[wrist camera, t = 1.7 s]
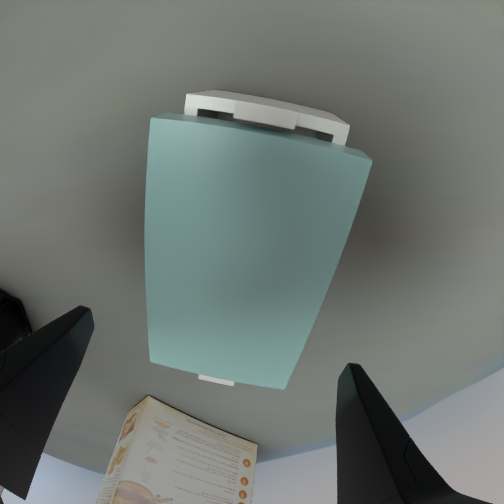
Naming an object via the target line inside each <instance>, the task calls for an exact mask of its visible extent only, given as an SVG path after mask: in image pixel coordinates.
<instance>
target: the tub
mask: <svg viewBox="0 0 504 504" xmlns="http://www.w3.org/2000/svg"><path fill="white" fill-rule="evenodd" d="M184 115H192V116H200V117H207V118H214V119H221V120H227V121H233V122H239V123H245V124H250V125H256V126H261V127H266V128H271V129H276V130H281V131H286V132H290V133H295V134H299V135H303V136H308V137H312V138H316V139H320V140H324V141H328V142H332V143H336V144H339V145H343V146H345V144H346V140H347V136H348V132H349V128H350V125H348V124H347V123H346V122H344V121H343V120H341V119H340V118H338V117H337V116H335V115H334V114H332V113H331V112H327V111H323V110H319V109H315V108H311V107H307V106H302V105H298V104H294V103H289V102H284V101H280V100H275V99H269V98H264V97H259V96H253V95H247V94H241V93H235V92H228V91H221V90H209V91H202V92H195V93H189V94H187V95H186V102H185V109H184ZM198 379H202V380H206V381H211V382H215V383H220V384H225V385H230V386H234V381H229V380H224V379H219V378H214V377H210V376H205V375H201V374H199V378H198Z"/></svg>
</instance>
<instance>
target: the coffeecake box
mask: <svg viewBox="0 0 504 504" xmlns="http://www.w3.org/2000/svg"><path fill="white" fill-rule="evenodd" d="M257 448H258V444H255V443H252V442H250V441H247V440H244V439H241V438H239V437H236V436H234V435H231V434H229V433H226V432H224V431H222V430H219V429H217V428H214V427H212V426H210V425H208V424H205V423H203V422H201V421H199V420H196V419H194V418H192V417H190V416H188V415H186V414H184V413H182V412H180V411H178V410H176V409H173V408H171V407H169V406H167V405H166V404H164V403H162V402H160V401H158V400H156V399H154V398H152V397H151V396H147V397H146V398H145V399H144V400H143V401H141V402H140V403H139V404H138V405H136V406H135V407H133V408H132V409H131V410H130V411H129V412H128V414H127V417H126V419H125V422H124V425H123V427H122V430H121V433H120V435H119V438H118V441H117V444H116V446H115V449H114V452H113V454H112V457H111V460H110V463H109V466H108V469H107V472H106V474H105V478H104V480H103V483H102V486H101V490H100V492H99V495H98V498H97V501H96V504H251V503H252V494H253V485H254V476H255V467H256V458H257Z"/></svg>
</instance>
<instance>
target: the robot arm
mask: <svg viewBox="0 0 504 504" xmlns="http://www.w3.org/2000/svg"><path fill="white" fill-rule="evenodd" d="M93 330H94V321H93V316H92V312H91V309H90V308H88V307H85V306H78V307H76V308H74V309H73V310H71V311H69V312H67V313H66V314H64V315H62V316H60V317H59V318H57V319H55V320H54V321H52V322H50V323H48V324H47V325H45V326H43V327H42V328H40V329H38V330H37V331H35V332H33V333H32V331H31V328H30V326H29V323H28V320H27V318H26V315H25V312H24V309H23V307H22V304H21V302H20V301H19V300H17V299H15V298H12V297H10V296H8V295H6V294H3V293H1V292H0V504H4V503H3V501H2V498H1V494H2V492H3V489H4V488H5V489H7V490H9V491H10V492H12V493H13V494H15V495H17V496H19V497H20V498H22V499H24V500H25V499H26V497H27V494H28V491H29V488H30V485H31V482H32V479H33V477H34V473H35V471H36V468H37V466H38V463H39V460H40V457H41V456H40V455H41V454H42V452H43V449H44V447H45V444H46V442H47V439H48V437H49V434H50V432H51V429H52V427H53V425H54V422H55V420H56V418H57V415H58V413H59V411H60V408H61V406H62V404H63V402H64V400H65V397H66V395H67V393H68V391H69V389H70V387H71V384H72V382H73V380H74V378H75V376H76V374H77V372H78V370H79V368H80V365H81V363H82V360H83V357H84V355H85V352H86V349H87V346H88V344H89V341H90V338H91V336H92V333H93ZM336 445H337V493H338V494H337V495H338V496H337V504H492V503H488V502H485V501H482V500H478V499H475V498H472V497H469V496H466V495H463V494H460V493H458V492H456V491H455V490H453V489H452V488H451V487H450V486H449V485H448V484H447V483H446V482H445V481H444V479H443V478H442V477H441V476H440V475H439V474H438V472H437V471H436V470H435V469H434V468H433V466H432V465H431V464H430V463H429V462H428V460H427V459H426V458H425V457H424V455H423V454H422V453H421V451H420V450H419V448H418V447H417V446H416V444H415V443H414V441H413V440H412V438H410V436H409V434H408V433H407V431H406V430H405V428H404V427H403V425H402V424H401V422H400V421H399V420H398V418H397V417H396V415H395V414H394V412H393V411H392V409H391V408H390V407H389V405H388V404H387V402H386V401H385V399H384V398H383V396H382V395H381V394H380V392H379V391H378V389H377V388H376V386H375V385H374V384H373V382H372V381H371V379H370V378H369V377H368V375H367V374H366V372H365V371H364V369H363V368H362V367H361V365H359V364H356V363H348V364H347V365H346V367H345V368H344V370H343V372H342V373H341V375H340V377H339V379H338V389H337V406H336Z"/></svg>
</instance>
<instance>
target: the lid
mask: <svg viewBox="0 0 504 504" xmlns="http://www.w3.org/2000/svg"><path fill="white" fill-rule="evenodd" d="M372 162H373V161H372V160H371V159H370V158H369V157H368V156H367V155H366V154H365V153H364V152H363V151H361V150H357V149H354V148H350V147H347V146H343V145H339V144H336V143H332V142H328V141H324V140H320V139H316V138H312V137H308V136H303V135H299V134H295V133H290V132H286V131H281V130H276V129H271V128H266V127H261V126H256V125H250V124H245V123H239V122H233V121H227V120H221V119H214V118H207V117H200V116H192V115H184V114H176V113H163V114H160V115H157V116H154V117H151V120H150V131H149V143H148V156H147V172H146V194H145V290H146V312H147V328H148V342H149V354H150V362H153V363H156V364H160V365H164V366H168V367H171V368H175V369H179V370H184V371H188V372H192V373H196V374H201V375H205V376H210V377H214V378H219V379H224V380H229V381H234V382H239V383H245V384H250V385H256V386H262V387H268V388H275V389H281V390H284V389H285V387H286V385H287V383H288V381H289V379H290V377H291V375H292V372H293V370H294V368H295V366H296V364H297V361H298V359H299V357H300V355H301V353H302V350H303V348H304V346H305V344H306V341H307V339H308V337H309V334H310V332H311V330H312V327H313V325H314V323H315V320H316V318H317V316H318V313H319V311H320V308H321V306H322V303H323V301H324V299H325V296H326V294H327V291H328V289H329V286H330V283H331V281H332V278H333V276H334V273H335V271H336V268H337V265H338V263H339V260H340V257H341V255H342V252H343V249H344V246H345V244H346V241H347V238H348V235H349V232H350V230H351V227H352V224H353V221H354V218H355V215H356V212H357V209H358V206H359V203H360V200H361V197H362V194H363V191H364V188H365V185H366V182H367V178H368V175H369V172H370V169H371V165H372Z"/></svg>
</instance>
